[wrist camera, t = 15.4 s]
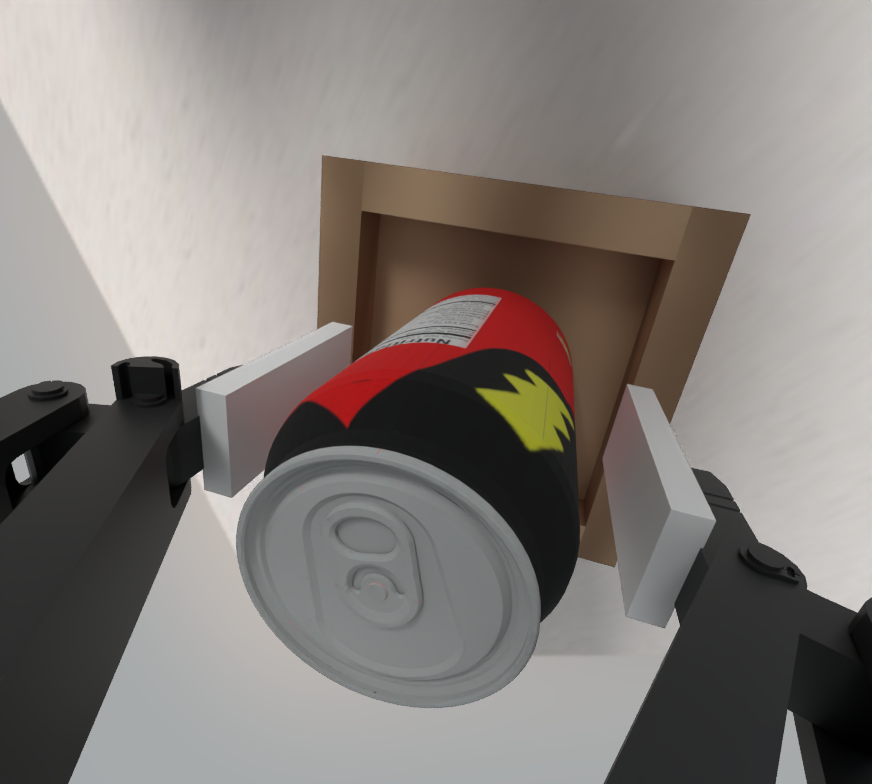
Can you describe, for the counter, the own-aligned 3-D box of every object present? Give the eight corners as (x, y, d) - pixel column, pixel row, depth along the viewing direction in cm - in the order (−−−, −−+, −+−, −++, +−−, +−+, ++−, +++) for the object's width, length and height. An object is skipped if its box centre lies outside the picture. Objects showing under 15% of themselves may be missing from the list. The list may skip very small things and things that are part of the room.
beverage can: (425, 436, 20) (261, 703, 9) (401, 292, 18) (152, 418, 7) (575, 434, 18) (589, 763, 7) (568, 273, 16) (575, 405, 5)
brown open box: (377, 411, 27) (313, 481, 20) (399, 172, 22) (322, 155, 15) (600, 466, 25) (614, 567, 18) (684, 212, 20) (750, 214, 13)
